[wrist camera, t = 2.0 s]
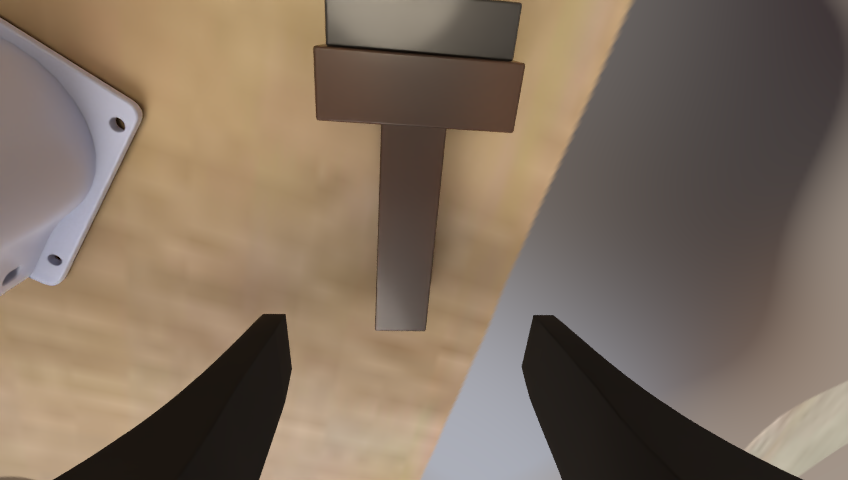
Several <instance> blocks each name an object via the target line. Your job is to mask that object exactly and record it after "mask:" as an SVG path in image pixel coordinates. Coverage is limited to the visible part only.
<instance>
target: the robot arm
mask: <svg viewBox="0 0 848 480" xmlns="http://www.w3.org/2000/svg"><path fill="white" fill-rule="evenodd" d="M142 117H143V114H142V110H141V108H140V107H139V105H138V104H137V103H136V102H134V101H133V100H132V99H130V98H128V97H127V96H125V95H124V94H122V93H120V92H119V91H117V90H116V89H114V88H112V87H111V86H109V85H108V84H106V83H104V82H103V81H101V80H100V79H98V78H96V77H95V76H93V75H92V74H90V73H88V72H87V71H85V70H84V69H82V68H80V67H79V66H77V65H76V64H74V63H72V62H71V61H69V60H68V59H66V58H64V57H63V56H61V55H59V54H58V53H56V52H55V51H53V50H51V49H50V48H48V47H47V46H45V45H43V44H42V43H40V42H39V41H37V40H35V39H34V38H32V37H31V36H29V35H27V34H26V33H24V32H23V31H21V30H19V29H18V28H16V27H15V26H13V25H11V24H10V23H8V22H7V21H5V20H3V19H2V18H0V296H1V295H3V294H4V293H6V292H7V291H9V290H10V289H12V288H13V287H15V286H16V285H18V284H19V283H21V282H22V281H24V280H25V279H26V278H28V277H30V278H32V279H34V280H36V281H39V282H41V283H43V284H46V285H51V286H54V285H57V284H59V283H60V282H62V281H63V280H64V279H65V278H66V276H67V274H68V272H69V270H70V268H71V266H72V263H73V261H74V259H75V257H76V255H77V253H78V251H79V249H80V247H81V245H82V243H83V241H84V239H85V237H86V235H87V232H88V230H89V228H90V226H91V224H92V222H93V220H94V218H95V216H96V214H97V212H98V210H99V208H100V206H101V203H102V201H103V199H104V197H105V195H106V193H107V191H108V189H109V187H110V185H111V183H112V181H113V179H114V177H115V175H116V172H117V170H118V168H119V166H120V164H121V162H122V160H123V158H124V156H125V154H126V152H127V150H128V148H129V146H130V144H131V141H132V139H133V137H134V135H135V133H136V131H137V129H138V127H139V125H140V123H141V121H142ZM116 118H119V119H121V120H122V121H123V122H124V124H125V130H124V129H121V128H120V127H119V126H118V125H117V123H116ZM55 255H57V256H58V257H60V259H61V260H59V259H58V258H56V256H55ZM291 370H292V366H291V357H290V348H289V340H288V331H287V323H286V314H263V315H262V316H261V317H260V318H258V319H257V320H256V321H255V322H254V323H253V324H252V325H251V326H250V328H249V329H248V330H247V331H246V332H245V333H244V334H243V335H242V336H241V337H240V338H239V339H238V340H237V341H236V342H235V343H234V344H233V345H232V346H231V347H230V348H229V349H228V350H227V351H225V352H224V353H223V354H222V355H221V356H220V357H219V358H218V359H217V360H216V361H215V362H214V363H213V364H212V365H211V366H210V367H209V368H208V369H206V370H205V371H204V372H203V373H202V374H201V375H200V376H199V377H197V378H196V379H195V380H194V381H193V382H192V383H191V384H189V385H188V386H187V387H186V388H185V389H184V390H183V391H181V392H180V393H179V394H178V395H177V396H175V397H174V398H173V399H172V400H170V401H169V402H168V403H167V404H166V405H164V406H163V407H162V408H160V409H159V410H158V411H156V412H155V413H154V414H152V415H151V416H150V417H148V418H147V419H146V420H144V421H143V422H142V423H140V424H139V425H137V426H136V427H135V428H133V429H132V430H130V431H129V432H127V433H126V434H124V435H123V436H121V437H120V438H118V439H117V440H115V441H114V442H112V443H111V444H109V445H108V446H106V447H105V448H103V449H102V450H100V451H99V452H97V453H96V454H94V455H93V456H91V457H90V458H88V459H87V460H85V461H83V462H82V463H80V464H78V465H77V466H75V467H74V468H72V469H70V470H69V471H67V472H65V473H64V474H62V475H60V476H59V477H57V478H55V479H54V480H259V478H260V475H261V472H262V469H263V466H264V463H265V460H266V457H267V455H268V452H269V449H270V446H271V443H272V440H273V437H274V434H275V431H276V428H277V425H278V422H279V419H280V416H281V413H282V410H283V407H284V404H285V400H286V395H287V390H288V386H289V381H290V376H291ZM522 370H523V374H524V378H525V382H526V386H527V389H528V393H529V397H530V400H531V403H532V405H533V408H534V410H535V413H536V416H537V418H538V421H539V423H540V426H541V428H542V431H543V433H544V435H545V438H546V440H547V443H548V445H549V448H550V450H551V453H552V455H553V458H554V460H555V463H556V465H557V468H558V470H559V472H560V475H561V478H562V480H802V479H800V478H798V477H796V476H794V475H791V474H789V473H787V472H785V471H783V470H781V469H779V468H777V467H775V466H773V465H771V464H769V463H767V462H765V461H763V460H761V459H759V458H757V457H755V456H753V455H751V454H749V453H747V452H746V451H744V450H742V449H740V448H738V447H736V446H734V445H732V444H731V443H729V442H727V441H725V440H723V439H722V438H720V437H718V436H716V435H715V434H713V433H711V432H710V431H708V430H706V429H704V428H703V427H701V426H699V425H698V424H696V423H694V422H693V421H691V420H689V419H688V418H686V417H685V416H683V415H681V414H680V413H678V412H677V411H675V410H674V409H672V408H671V407H669V406H668V405H666V404H665V403H663V402H662V401H660V400H659V399H657V398H656V397H654V396H653V395H651V394H650V393H649V392H647V391H646V390H644V389H643V388H642V387H640V386H639V385H638V384H636V383H635V382H634V381H632V380H631V379H630V378H628V377H627V376H626V375H624V374H623V373H622V372H621V371H619V370H618V369H617V368H616V367H614V366H613V365H612V364H611V363H609V362H608V361H607V360H606V359H604V358H603V357H602V356H601V355H600V354H598V353H597V352H596V351H595V350H594V349H593V348H591V347H590V346H589V345H588V344H587V343H586V342H584V341H583V340H582V339H581V338H580V337H579V336H577V335H576V334H575V333H574V332H573V331H571V330H570V329H569V328H568V327H567V326H566V325H565V324H563V323H562V322H561V321H560V320H558V319H557V318H556V317H555V316H553V315H534V316H533V320H532V324H531V328H530V333H529V337H528V342H527V346H526V350H525V355H524V360H523V364H522Z"/></svg>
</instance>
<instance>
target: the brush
mask: <svg viewBox="0 0 848 480" xmlns="http://www.w3.org/2000/svg"><path fill="white" fill-rule="evenodd" d="M521 8H522V4H521V3H519V2H509V1H499V0H325V32H326V44H322V45H316V46H314V48H313V54H314V78H315V103H316V118H317V120H322V121H337V122H352V123H367V124H381V152H380V185H379V218H378V250H377V283H376V316H375V330H376V331H425V330H426V322H427V313H428V303H429V293H430V283H431V274H432V264H433V254H434V244H435V235H436V225H437V215H438V205H439V196H440V186H441V176H442V166H443V157H444V147H445V137H446V129H459V130H474V131H490V132H505V133H512V132H513V131H514V126H515V120H516V114H517V109H518V103H519V97H520V92H521V86H522V80H523V75H524V69H525V64H524V63H521V62H516V61H512V60H513V57H514V50H515V44H516V38H517V32H518V26H519V20H520V14H521Z"/></svg>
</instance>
